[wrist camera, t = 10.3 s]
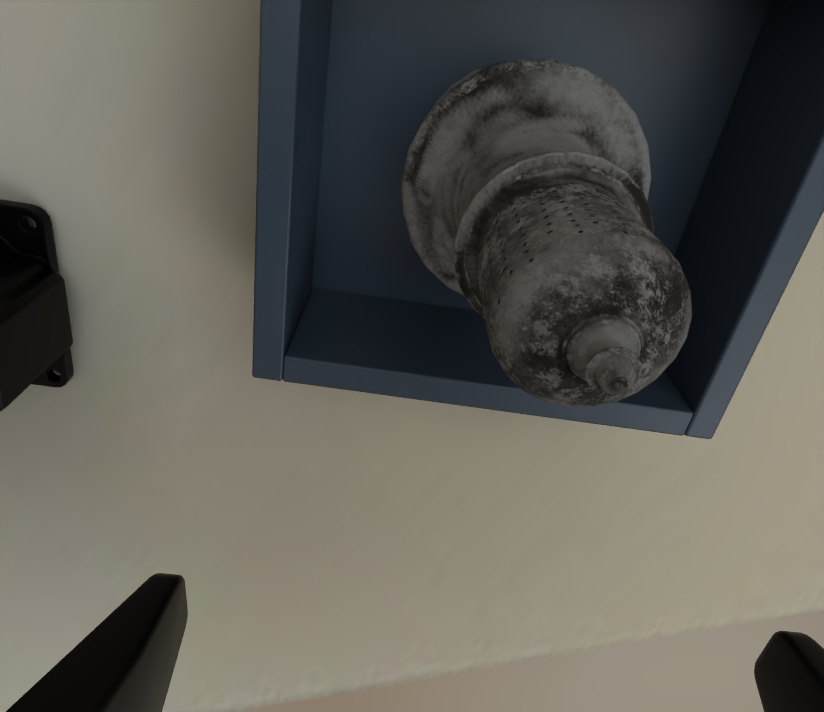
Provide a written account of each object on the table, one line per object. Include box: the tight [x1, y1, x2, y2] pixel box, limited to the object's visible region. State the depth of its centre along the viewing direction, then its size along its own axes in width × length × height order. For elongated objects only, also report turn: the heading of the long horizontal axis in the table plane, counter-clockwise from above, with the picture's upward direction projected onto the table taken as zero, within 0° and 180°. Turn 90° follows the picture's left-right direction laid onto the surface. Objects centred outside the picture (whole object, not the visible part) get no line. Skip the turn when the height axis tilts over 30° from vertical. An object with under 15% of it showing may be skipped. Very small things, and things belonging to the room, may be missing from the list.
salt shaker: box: [401, 59, 692, 406], centre depth 12 cm, size 6×6×12 cm
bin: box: [252, 0, 824, 439], centre depth 16 cm, size 13×12×5 cm
